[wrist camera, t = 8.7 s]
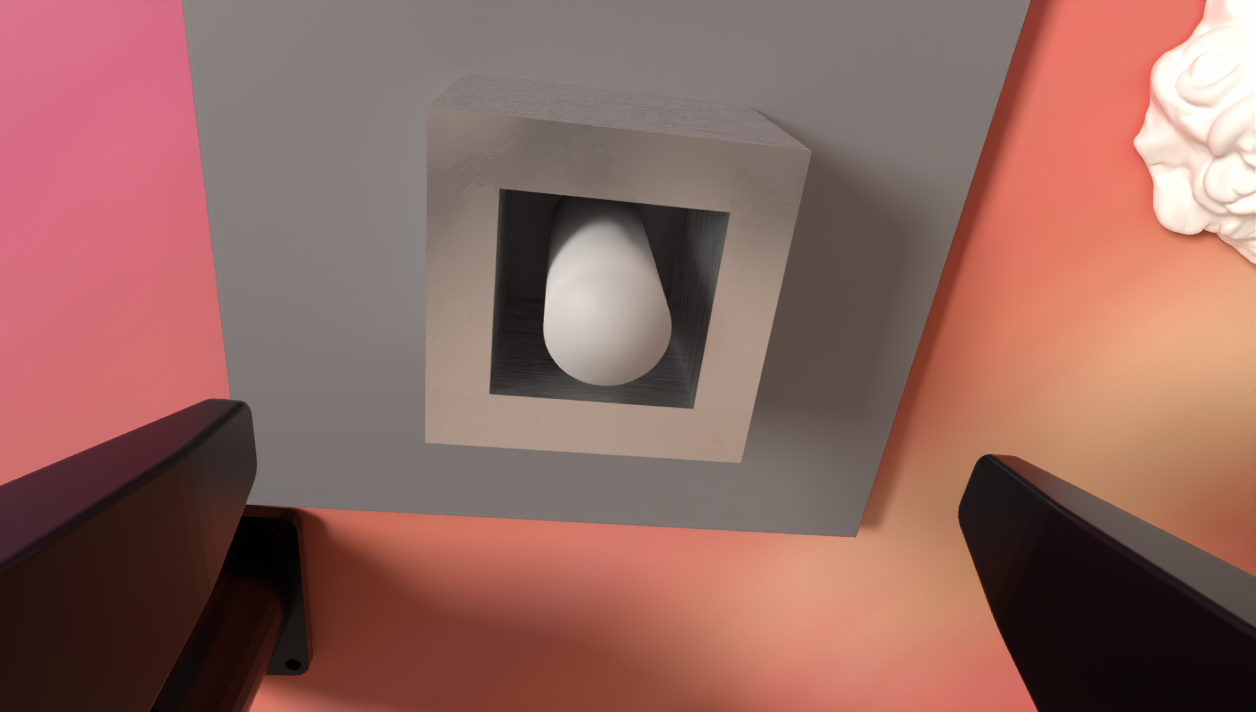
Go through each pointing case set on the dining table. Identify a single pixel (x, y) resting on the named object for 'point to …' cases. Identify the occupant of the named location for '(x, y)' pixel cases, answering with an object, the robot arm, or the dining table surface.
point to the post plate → (369, 216)
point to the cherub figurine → (1206, 129)
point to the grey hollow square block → (613, 170)
